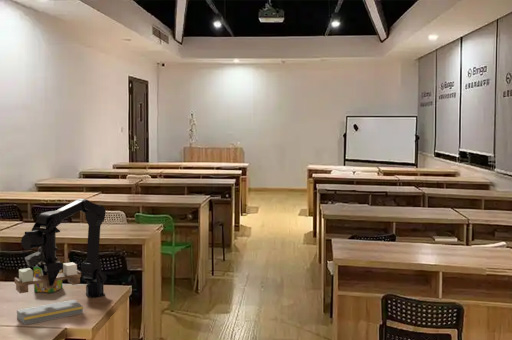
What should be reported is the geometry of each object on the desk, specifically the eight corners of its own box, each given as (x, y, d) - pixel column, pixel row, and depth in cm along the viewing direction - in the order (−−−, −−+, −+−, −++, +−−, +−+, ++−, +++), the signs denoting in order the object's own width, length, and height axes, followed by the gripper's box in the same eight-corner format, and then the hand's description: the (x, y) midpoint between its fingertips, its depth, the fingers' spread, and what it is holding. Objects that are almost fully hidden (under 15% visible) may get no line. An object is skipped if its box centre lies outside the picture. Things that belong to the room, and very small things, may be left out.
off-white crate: (72, 271, 227) (72, 262, 227) (76, 274, 223) (76, 264, 223) (63, 273, 225) (62, 263, 224) (67, 275, 221) (66, 265, 220)
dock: (73, 306, 225) (73, 299, 225) (83, 313, 217) (82, 306, 217) (17, 317, 212) (16, 310, 212) (24, 325, 204) (24, 317, 204)
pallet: (76, 280, 229) (76, 269, 228) (81, 283, 224) (81, 272, 224) (14, 289, 214) (14, 277, 214) (18, 293, 210) (18, 281, 209)
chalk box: (52, 293, 243) (51, 260, 242) (33, 292, 245) (32, 259, 244) (63, 287, 252) (62, 255, 251) (45, 286, 254) (44, 254, 253)
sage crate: (29, 277, 217) (29, 267, 217) (33, 280, 213) (33, 270, 213) (18, 279, 215) (18, 269, 214) (22, 282, 211) (22, 272, 210)
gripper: (20, 243, 221) (21, 281, 222) (33, 251, 206) (34, 292, 207) (49, 240, 227) (49, 277, 228) (63, 248, 212) (64, 288, 213)
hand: (48, 283), depth 219 cm, fingers closed on pallet, 6 cm apart
